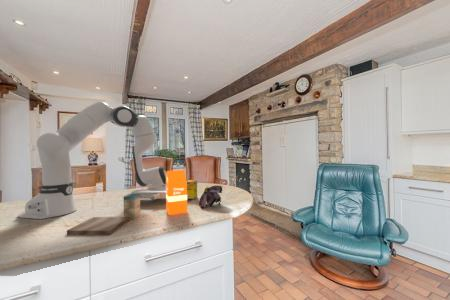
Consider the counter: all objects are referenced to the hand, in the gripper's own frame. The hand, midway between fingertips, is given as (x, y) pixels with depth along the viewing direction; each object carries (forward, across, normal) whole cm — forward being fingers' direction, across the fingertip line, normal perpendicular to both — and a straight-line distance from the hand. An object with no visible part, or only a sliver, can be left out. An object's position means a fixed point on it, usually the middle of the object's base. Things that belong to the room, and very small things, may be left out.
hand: (144, 197), depth 105 cm
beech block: (+13, 0, +6) cm, 14 cm away
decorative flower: (-5, +34, +6) cm, 35 cm away
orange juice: (+5, +18, +6) cm, 20 cm away
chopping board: (+24, -7, +6) cm, 26 cm away
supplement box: (-19, +20, +6) cm, 28 cm away
